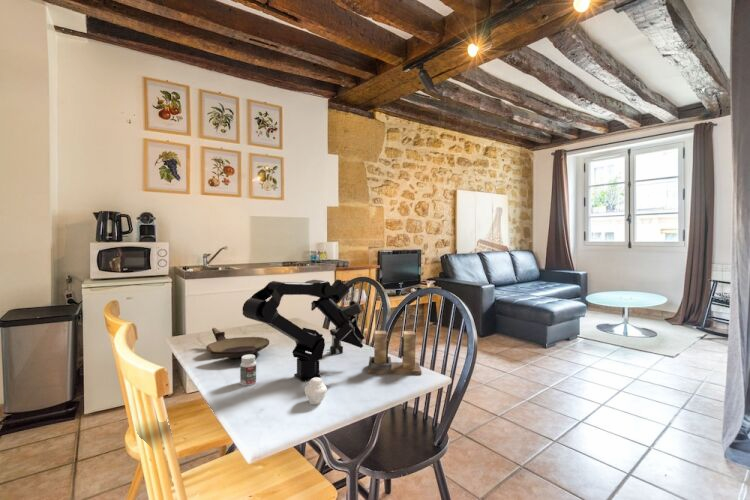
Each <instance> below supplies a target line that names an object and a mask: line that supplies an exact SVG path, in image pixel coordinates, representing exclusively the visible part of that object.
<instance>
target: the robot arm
mask: <svg viewBox="0 0 750 500" xmlns="http://www.w3.org/2000/svg"><path fill="white" fill-rule="evenodd" d="M330 283H331V282H330V281H328V280H321V279H310V280H306V281H305V282H290V281H289V282H288V281H287V282H285V281H278V280H277V281H276V280H272V281H269V282H268V283H267V284H266V285H265V286H264V287H263V288H261V289H260V290H258V291H256V292H255V293H254V294H252V296H251V297H249V298H248V299H246V301H245V302H244V303H243V305H242V315H243V316H244V317H245V318H247V319H250V320H252V321H256V322H259V323H263V324H265V325H267V326H269V327H271V328H272V329H275V331H276V330H277V331H278V332H280V333H281V334H283V335H285V336H287V337H288V338H290V339H291V340H293V341H294V342H295V346H294V348H293V350H292V356H293V358H296V373H294V377H295V378H297V379H298V380H300V381H302V382H308V381H310V380H311V379H312V378H315V377H318V378H320V377H322V375H321V374H320V360H322V359H323V355H324V351H325V346H326V343H325V341H326V340H325V338H324V337H323V336H324V335H323V334H321V333H319V332H318V330H315V329H312V328H307V327H302V328H301V327H299V326H298V325H297V324H296V323H293V322H292V321H290V320H289V319H288V318H286V317H284V316H283V315H281V314H280V313H279V310H278V308H279V306H280V305H281V304H280V303H281V300H282V298H283V297H284V296H294V295H298V296H301V295H302V296H304V295H306V296H309V297H315V298H318V299H316V300H313V301H312V302H311V303H310V304H311V307H310V308H311V309H310V310H311V311H313V312H314V310H315V309H318V310H319V311H320V312H321V313H322V315H324V316H325V318H327V320H326V321H328V323H331V324H333V326H334V327H336V328H335V329H336V330H337V331H336V333H335V338H336V339H337V340H338V341H340V340H341V342H343V343H347V344H350V345H352V346H355V347H357V348H359V349H362V348H363V347H364V344H363V343H362V341H363V340H364V339H365V336H364V334H363V332H362V331H361V328H360V327H359V325H358V318H357V315H360V314H361V313H362V311H363V309H362V307H361V304H360V302H359V301H357V302H356V301H355V300H353V299H352V300H351V301H349V305H348V306H346V307H343V306H342V305H339V303H341V302H342V300H343V299H344V298H345V297H346V296H348V294H349V293H350V288H349V287H348V285H346V284H345V283H344V282H343V281H342V279H336V280H334V282H333V283H332V284H330ZM361 340H362V341H361Z"/></svg>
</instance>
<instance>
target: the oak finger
mask: <svg viewBox="0 0 750 500" xmlns="http://www.w3.org/2000/svg"><path fill="white" fill-rule="evenodd" d="M388 352H389V338H388V336H387V331H386V330H374V352H373V353H374V355H373V357H374V364H386V358H388V357H389V353H388Z"/></svg>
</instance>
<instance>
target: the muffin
mask: <svg viewBox="0 0 750 500" xmlns="http://www.w3.org/2000/svg"><path fill="white" fill-rule="evenodd" d="M327 391H328V388H327V386H326V384H324V382H323V379H322V378H320V377H315V378H312V379H311V380H309V382H308V384H307V385H306V386H305V388H304V393H305V396H306V399H308V402H309V404H311V405H313V406H315V405H320V404H321V403H322V401H323V400H324V398H325V396H326V393H327Z"/></svg>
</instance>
